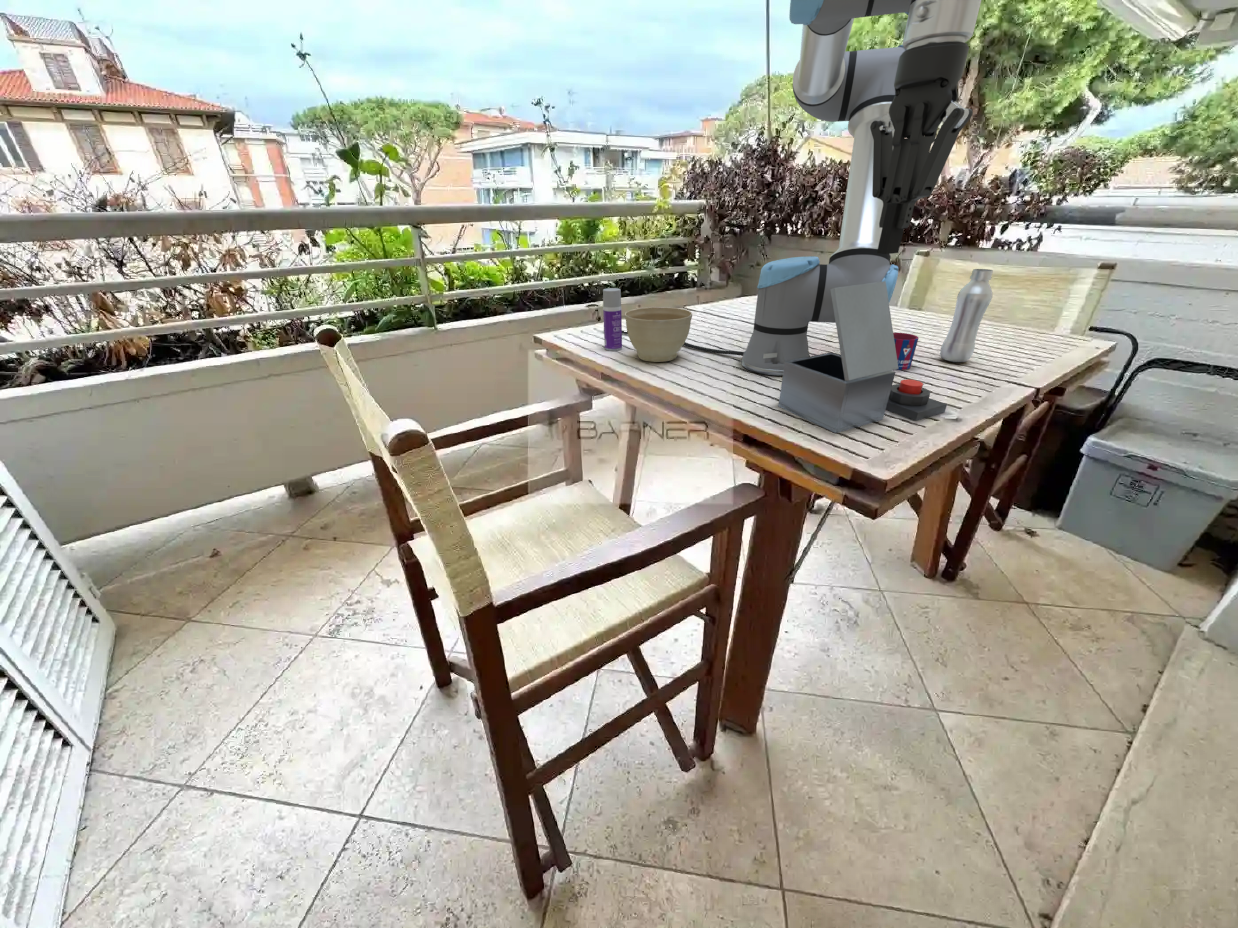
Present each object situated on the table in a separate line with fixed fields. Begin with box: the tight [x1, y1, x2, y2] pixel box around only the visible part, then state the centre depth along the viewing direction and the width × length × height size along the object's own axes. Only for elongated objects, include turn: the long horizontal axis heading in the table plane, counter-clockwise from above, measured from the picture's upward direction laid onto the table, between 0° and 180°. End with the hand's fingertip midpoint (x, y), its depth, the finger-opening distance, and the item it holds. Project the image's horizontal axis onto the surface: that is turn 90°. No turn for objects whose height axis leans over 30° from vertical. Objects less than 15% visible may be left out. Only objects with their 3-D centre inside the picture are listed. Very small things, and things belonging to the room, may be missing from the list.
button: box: [898, 378, 924, 394], centre depth 87 cm, size 4×4×2 cm
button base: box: [885, 383, 948, 422], centre depth 89 cm, size 10×8×4 cm
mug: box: [893, 332, 919, 371], centre depth 111 cm, size 7×10×7 cm
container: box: [602, 287, 623, 352], centre depth 125 cm, size 5×5×15 cm
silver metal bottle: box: [939, 268, 994, 363], centre depth 108 cm, size 6×7×20 cm
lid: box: [831, 281, 898, 381], centre depth 77 cm, size 14×12×1 cm
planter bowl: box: [624, 306, 693, 363], centre depth 118 cm, size 16×16×11 cm
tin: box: [777, 351, 896, 434], centre depth 86 cm, size 14×12×9 cm
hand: (887, 253), depth 71 cm, fingers closed
